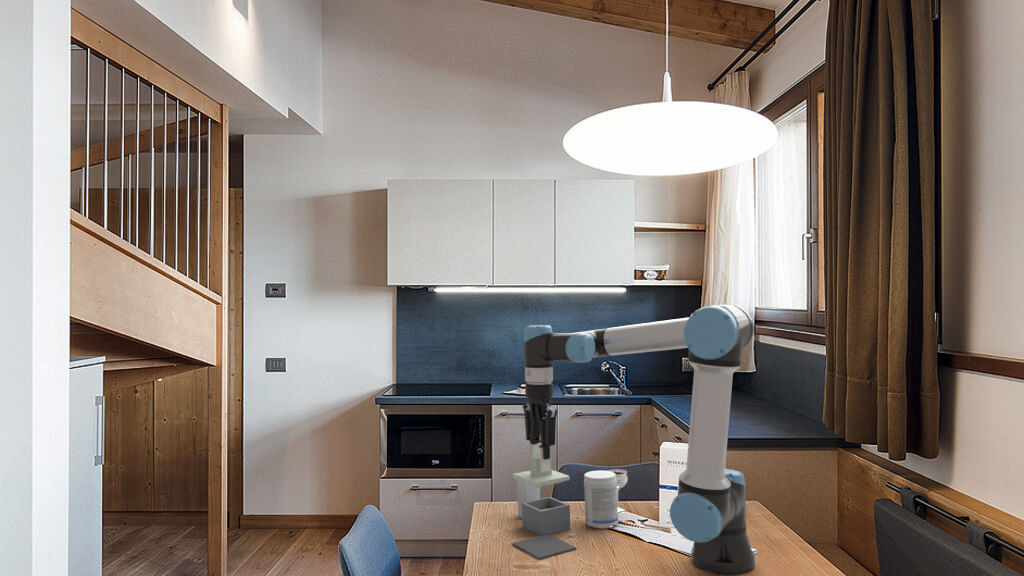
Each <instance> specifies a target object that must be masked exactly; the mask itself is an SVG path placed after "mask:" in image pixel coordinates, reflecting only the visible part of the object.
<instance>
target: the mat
mask: <svg viewBox="0 0 1024 576" xmlns="http://www.w3.org/2000/svg"><path fill="white" fill-rule="evenodd" d="M512 546H514V547H516V548H517V549H520V550H521V551H523V552H525V553H527V554H528V555H530V556H531V557H534V558H535V559H537V560H543V559H547V558H550V557H553V556H557V555H561V554H564V553H568V552H573V551H575V550H577V547H576V546H574V545H572V544H571V543H568V542H566V541H564V540H562V539H560V538H558V537H557V536H556V537H555V536H554V535H553V534H546V535H542V536H540V535H537V536H534V537H530V538H527V539H523V540H519V541H518V540H517V541H515V542H512Z"/></svg>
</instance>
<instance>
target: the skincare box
mask: <svg viewBox="0 0 1024 576" xmlns="http://www.w3.org/2000/svg"><path fill="white" fill-rule="evenodd" d="M516 486H517V487H516V489H517V490H516V491H517V516H518V517H520V518H522V503H524V502H528V501H533V500H537V499H541V487H538V488H537V487H534V486H532V485H530V484H527V483H525V482H523V481H520V480H518V479H516Z"/></svg>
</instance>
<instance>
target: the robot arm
mask: <svg viewBox="0 0 1024 576" xmlns="http://www.w3.org/2000/svg"><path fill="white" fill-rule="evenodd" d="M754 325H755V324H754V321H753V319H752V317H751V315H750V314H749V312H748V311H747V310H745V309H744V308H742V307H741V306H738V305H736V304H732V303H731V304H730V303H729V304H728V303H726V304H725V303H724V304H709V305H706V306H703V307H701V308H699V309H696V310H695V311H694V312H692V313H691V315H690V316H689V317H683V318H675V319H668V320H660V321H653V322H646V323H639V324H638V323H637V324H630V325H623V326H622V325H621V326H617V327H616V326H615V327H608V328H600V329H592V330H585V331H579V332H578V331H577V332H568V333H565V332H561V333H559V332H558V333H557V332H553V330H552V328H553V327H552V326H551V325H549V324H537V325H536V324H533V325H528V326H526V327H525V328H524V333H523V334H524V336H523V337H524V338H523V347H524V375H525V376H524V377H525V379H524V380H525V382H526V383H525V384H524V386H525V387H524V388H525V389H524V390H525V391H524V395H525V397H526V398H527V399H528V402H527V403H525V404H522V409H523V412H524V427H525V438H526V439H525V440H526V441H528V442H529V443H530V444H531V449H530V450H531V456H537V455H540V472H544V471H550V456H551V446H555V445H556V432H557V431H556V427H557V425H556V424H557V415H558V409H557V408H552V404H551V398H552V397H553V396H554V384H553V381H554V373H553V372H554V370H553V367H554V365H553V362H565V363H575V364H579V363H589V362H590V361H592V359H594V358H602V357H611V356H619V355H620V356H621V355H630V354H638V353H639V354H640V353H649V352H660V351H669V350H677V349H678V350H681V349H687V348H688V357H687V358H688V359H687V361H688V364H690V365H691V367H692V368H693V382H692V395H691V408H690V420H689V430H688V431H689V432H688V445H687V457H686V459H687V460H686V469H685V470H684V471H682V472H681V473H680V474H679V476H678V487H677V496H676V497H674V498H673V499H672V500H673V501H672V502H671V504H670V508H669V517H670V520H671V523H672V525H673V528H675V529H676V531H678V534H680V535H681V536H682V537H683V538H685V539H686V540H688V541H691V542H693V546H692V548H691V550H690V551H691V554H690V555H691V557H690V558H691V562H692V563H693V565H694V566H695V567H697V568H699V569H701V570H702V571H707V572H710V573H713V574H714V573H716V574H722V575H723V574H724V575H739V574H743V573H747V572H750V571H752V570H753V569H755V567H756V559H755V558H756V557H755V552H754V551H753V550H752V547H751V543H750V539H749V537H748V534H747V514H746V513H747V510H746V509H747V507H746V505H747V504H746V503H747V502H746V487H747V486H746V485H747V484H746V483H745V482H746V481H745V476H744V473H742V472H741V471H738V470H735V469H731V468H730V469H729V468H726V461H727V448H728V437H729V427H730V426H729V424H730V413H731V400H732V390H733V389H732V388H733V387H732V386H733V378H734V377H733V375H734V373H735V372H736V371H737V370H739V369H741V367H742V364H741V363H742V351H743V349H745V348H746V347H747V346H748V345H749V344H750V342H751V341H752V339H753V336H754V333H755V332H754V331H755V328H754V327H755V326H754Z"/></svg>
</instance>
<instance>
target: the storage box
mask: <svg viewBox="0 0 1024 576" xmlns="http://www.w3.org/2000/svg"><path fill="white" fill-rule="evenodd" d="M521 519H522V520H521V521H522V528H524V529H526V530H527V531H531V532H532V533H534V534H536V535H537V536H542V535H546V534H550V535H553V534H556V533H561V532H565V531H570V530H571V505H570V504H569V503H566V502H564V501H561V500H558V499H557V498H554V497H551V496H548V497H547V496H546V497H542V498H540V499H537V500H533V501H528V502H524V503H522V517H521Z"/></svg>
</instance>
